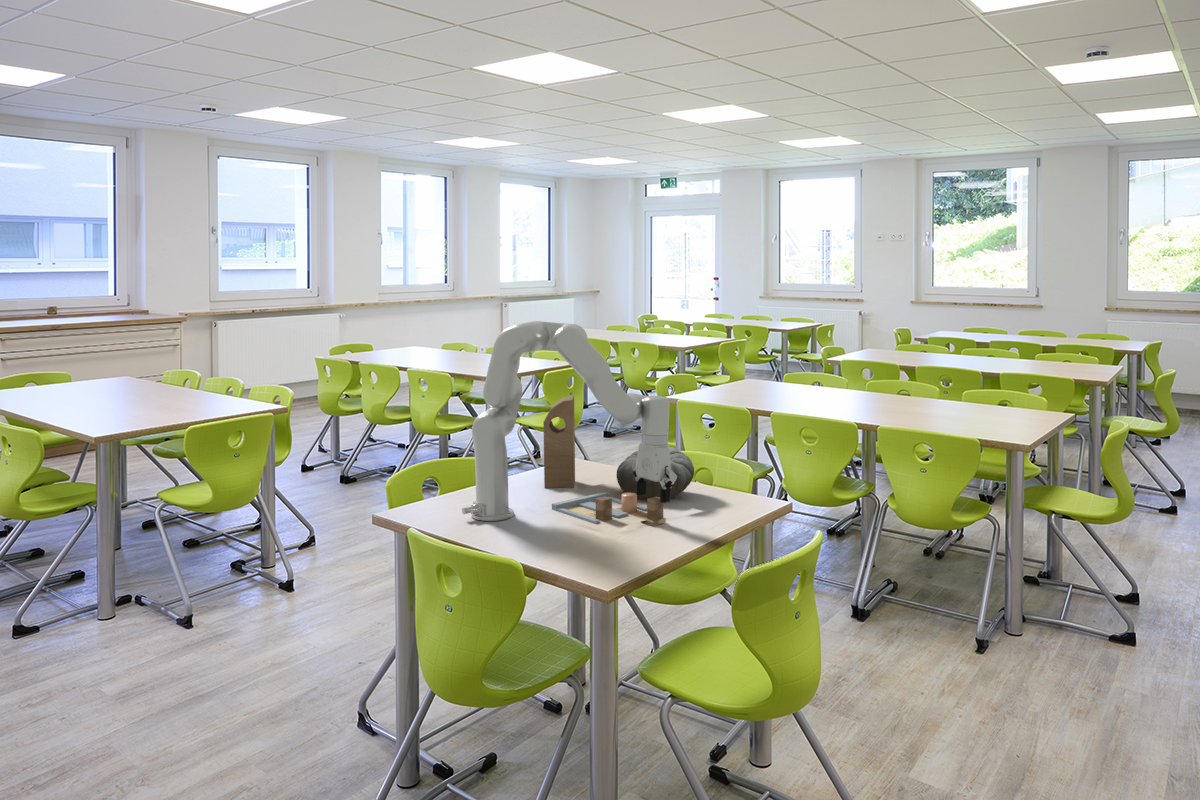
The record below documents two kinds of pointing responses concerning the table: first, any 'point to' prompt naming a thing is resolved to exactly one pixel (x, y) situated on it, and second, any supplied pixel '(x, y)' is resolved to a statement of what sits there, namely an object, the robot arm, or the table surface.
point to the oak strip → (644, 516)
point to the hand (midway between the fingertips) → (652, 498)
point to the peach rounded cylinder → (629, 502)
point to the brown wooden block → (603, 509)
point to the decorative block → (560, 446)
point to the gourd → (653, 489)
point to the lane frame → (588, 507)
